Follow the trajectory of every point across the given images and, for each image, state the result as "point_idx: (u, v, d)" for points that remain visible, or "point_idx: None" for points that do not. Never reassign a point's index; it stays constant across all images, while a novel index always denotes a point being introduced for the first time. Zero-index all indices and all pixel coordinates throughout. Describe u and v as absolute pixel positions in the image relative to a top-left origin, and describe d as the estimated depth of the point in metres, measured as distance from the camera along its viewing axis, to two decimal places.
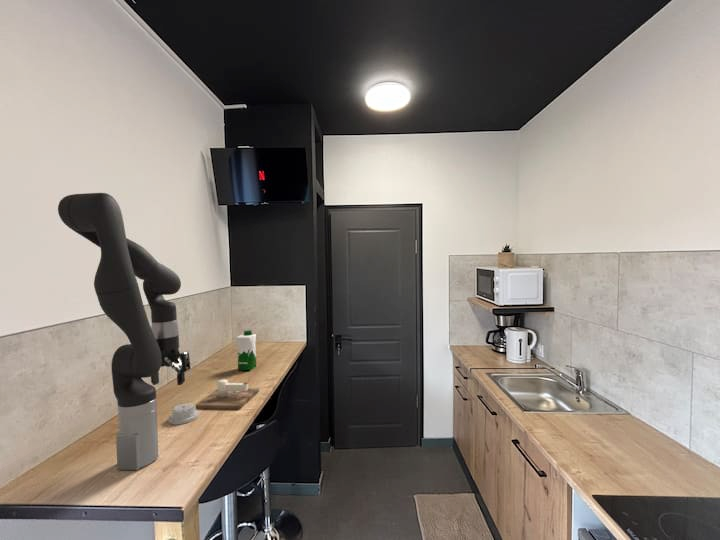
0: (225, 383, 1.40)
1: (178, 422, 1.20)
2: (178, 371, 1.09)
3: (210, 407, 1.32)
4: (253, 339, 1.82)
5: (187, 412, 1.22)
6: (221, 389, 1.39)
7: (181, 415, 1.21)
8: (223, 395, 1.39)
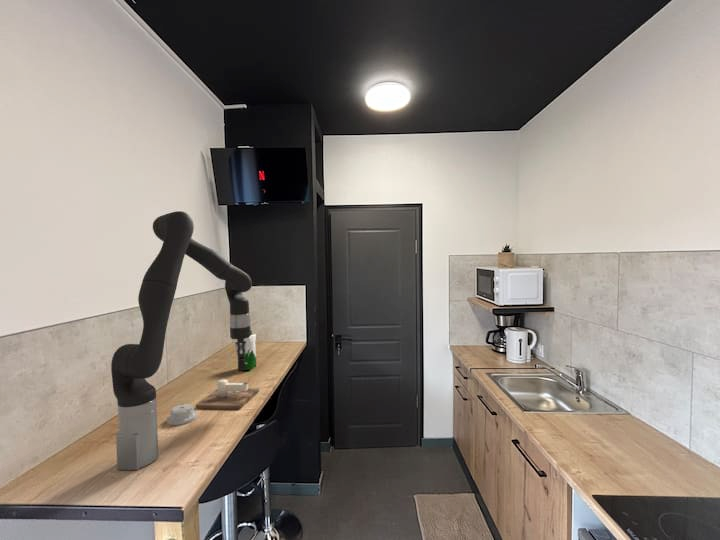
0: (225, 383, 1.40)
1: (176, 423, 1.19)
2: None
3: (210, 407, 1.32)
4: (253, 339, 1.82)
5: (185, 413, 1.21)
6: (221, 389, 1.39)
7: (179, 416, 1.20)
8: (223, 395, 1.39)
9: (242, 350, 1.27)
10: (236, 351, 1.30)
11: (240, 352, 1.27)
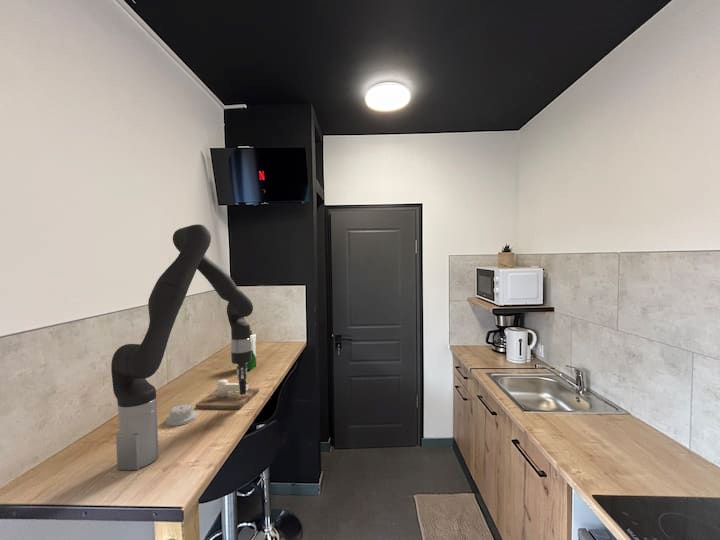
0: (225, 383, 1.40)
1: (175, 423, 1.19)
2: None
3: (210, 407, 1.32)
4: (253, 339, 1.82)
5: (185, 413, 1.21)
6: (221, 389, 1.39)
7: (178, 417, 1.20)
8: (223, 395, 1.39)
9: (243, 375, 1.28)
10: None
11: (241, 377, 1.28)
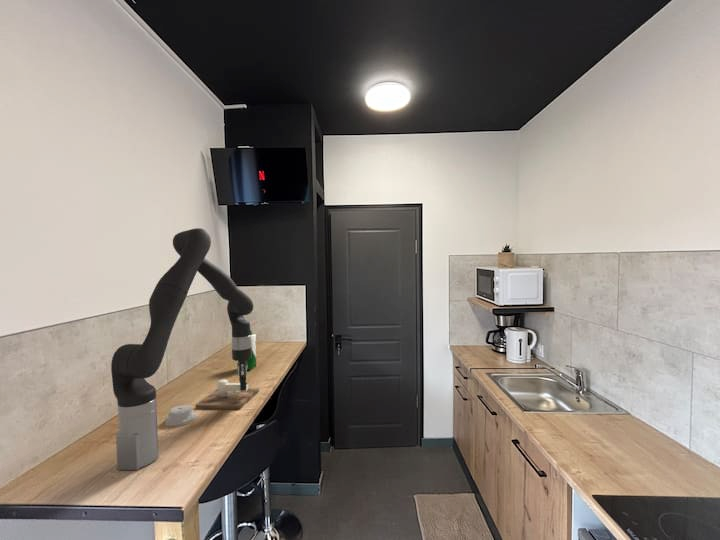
0: (225, 383, 1.40)
1: (174, 424, 1.18)
2: None
3: (210, 407, 1.32)
4: (253, 339, 1.82)
5: (184, 414, 1.20)
6: (221, 389, 1.39)
7: (177, 417, 1.19)
8: (223, 395, 1.39)
9: (243, 372, 1.32)
10: (238, 372, 1.35)
11: (241, 373, 1.32)
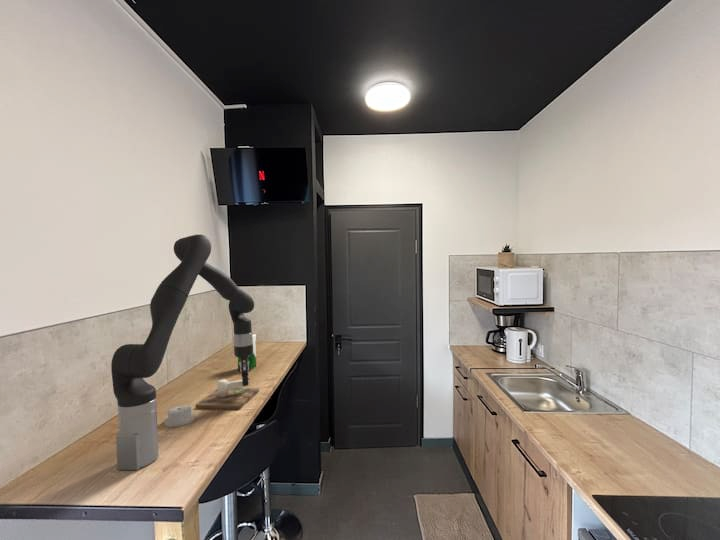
0: (227, 382, 1.41)
1: (173, 425, 1.18)
2: None
3: (210, 407, 1.32)
4: (253, 339, 1.82)
5: (183, 414, 1.20)
6: (224, 389, 1.39)
7: (176, 418, 1.19)
8: (226, 394, 1.40)
9: (245, 367, 1.37)
10: (240, 368, 1.40)
11: (244, 369, 1.37)
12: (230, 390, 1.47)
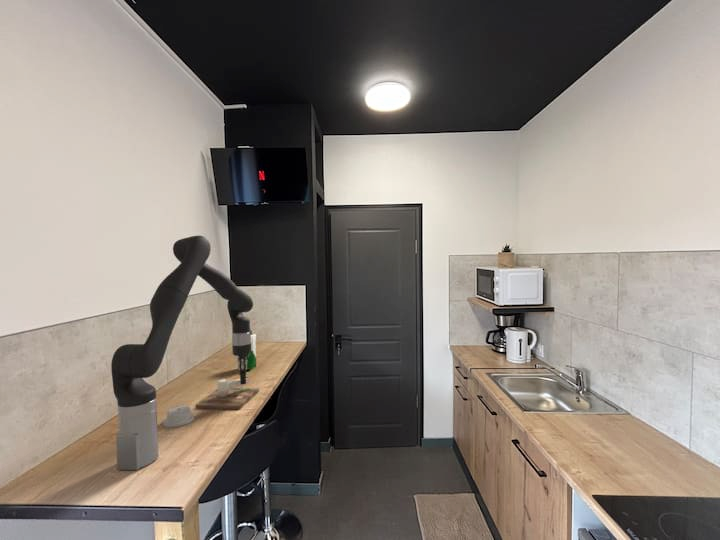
0: (227, 382, 1.41)
1: (172, 425, 1.17)
2: None
3: (210, 407, 1.32)
4: (253, 339, 1.82)
5: (182, 415, 1.20)
6: (225, 389, 1.40)
7: (176, 418, 1.19)
8: (227, 394, 1.40)
9: (243, 366, 1.38)
10: (238, 367, 1.42)
11: (241, 368, 1.38)
12: (230, 390, 1.47)
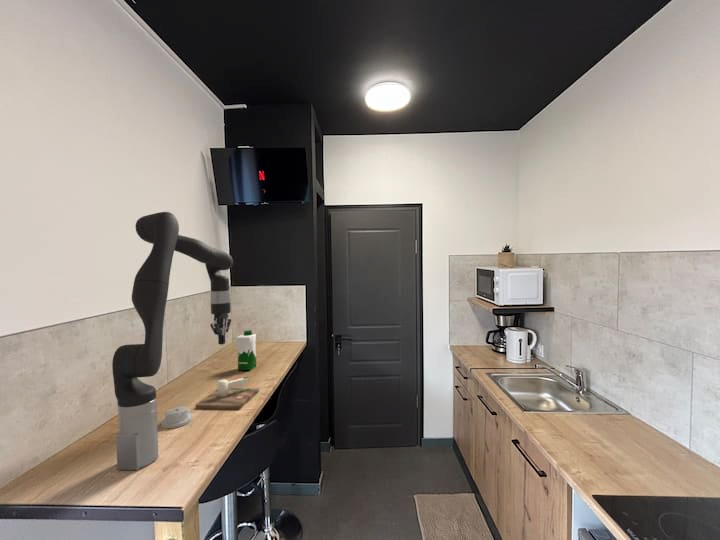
0: (227, 382, 1.41)
1: (170, 426, 1.17)
2: (225, 332, 1.41)
3: (210, 407, 1.32)
4: (253, 339, 1.82)
5: (180, 415, 1.19)
6: (225, 389, 1.40)
7: (174, 419, 1.18)
8: (227, 394, 1.40)
9: (214, 325, 1.34)
10: None
11: (213, 326, 1.34)
12: (230, 390, 1.47)
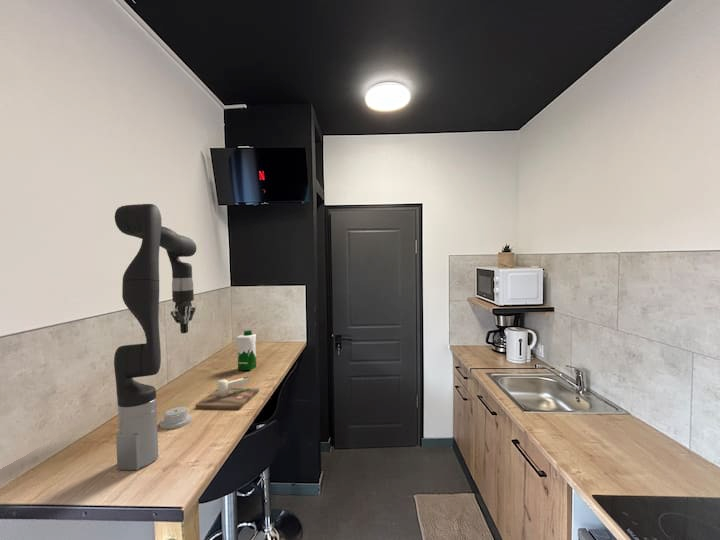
0: (227, 382, 1.41)
1: (169, 427, 1.16)
2: (188, 320, 1.36)
3: (210, 407, 1.32)
4: (253, 339, 1.82)
5: (179, 416, 1.19)
6: (225, 389, 1.40)
7: (173, 420, 1.18)
8: (227, 394, 1.40)
9: (175, 312, 1.30)
10: None
11: (173, 314, 1.30)
12: (230, 390, 1.47)
